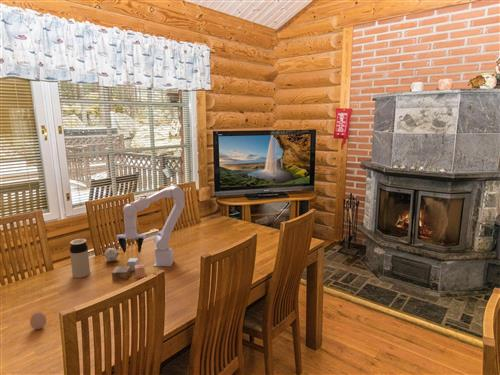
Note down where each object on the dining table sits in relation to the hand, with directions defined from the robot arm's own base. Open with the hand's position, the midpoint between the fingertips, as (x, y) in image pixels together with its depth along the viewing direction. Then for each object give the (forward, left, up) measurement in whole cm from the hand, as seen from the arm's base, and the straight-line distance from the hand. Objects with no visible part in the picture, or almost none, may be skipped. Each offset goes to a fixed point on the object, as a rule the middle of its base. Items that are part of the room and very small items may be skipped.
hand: (132, 251), depth 176 cm
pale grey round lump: (+15, -10, -10) cm, 20 cm away
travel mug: (+24, +7, -10) cm, 27 cm away
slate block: (0, 0, -10) cm, 10 cm away
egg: (+19, +52, -10) cm, 56 cm away
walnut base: (+3, +9, -10) cm, 14 cm away
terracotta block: (-6, +8, -10) cm, 14 cm away
